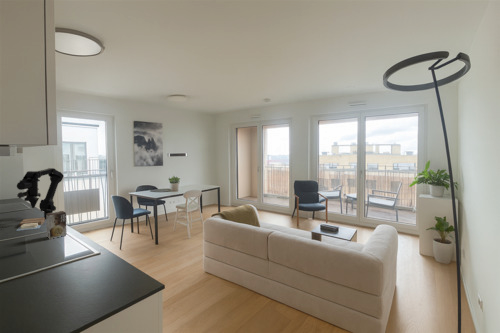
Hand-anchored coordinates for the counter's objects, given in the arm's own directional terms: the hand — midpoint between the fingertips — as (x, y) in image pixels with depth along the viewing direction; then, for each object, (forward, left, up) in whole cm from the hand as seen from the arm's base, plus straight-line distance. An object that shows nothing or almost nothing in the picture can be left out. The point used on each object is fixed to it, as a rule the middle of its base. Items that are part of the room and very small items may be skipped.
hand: (33, 207), depth 181 cm
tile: (+12, 0, -12) cm, 17 cm away
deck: (+2, 0, -12) cm, 12 cm away
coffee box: (+42, +19, -12) cm, 48 cm away
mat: (+13, 0, -12) cm, 18 cm away
